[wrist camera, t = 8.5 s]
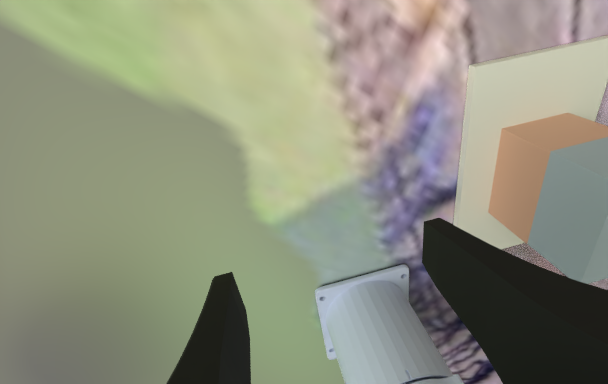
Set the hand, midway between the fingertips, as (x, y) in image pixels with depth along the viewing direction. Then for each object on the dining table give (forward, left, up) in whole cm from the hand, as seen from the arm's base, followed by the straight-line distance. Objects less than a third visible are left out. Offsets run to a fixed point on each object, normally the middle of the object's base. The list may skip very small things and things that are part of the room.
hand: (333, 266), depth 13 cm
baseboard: (-5, -17, -10) cm, 21 cm away
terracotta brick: (-5, -17, -10) cm, 20 cm away
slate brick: (-5, -17, -6) cm, 19 cm away
